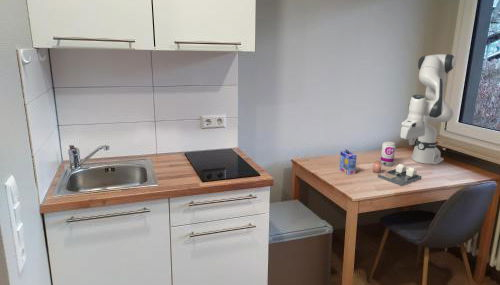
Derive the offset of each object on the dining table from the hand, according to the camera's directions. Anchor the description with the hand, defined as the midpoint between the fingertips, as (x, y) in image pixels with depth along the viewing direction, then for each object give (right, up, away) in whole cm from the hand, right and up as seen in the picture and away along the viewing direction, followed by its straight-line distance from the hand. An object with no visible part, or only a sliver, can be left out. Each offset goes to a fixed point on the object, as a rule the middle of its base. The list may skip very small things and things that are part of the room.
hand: (411, 144), depth 222 cm
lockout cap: (-19, -17, +5) cm, 26 cm away
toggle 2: (-3, -18, -5) cm, 19 cm away
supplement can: (-8, -14, +20) cm, 25 cm away
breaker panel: (-9, -20, -4) cm, 23 cm away
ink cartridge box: (-38, -17, +5) cm, 42 cm away
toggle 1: (-6, -17, 0) cm, 18 cm away
